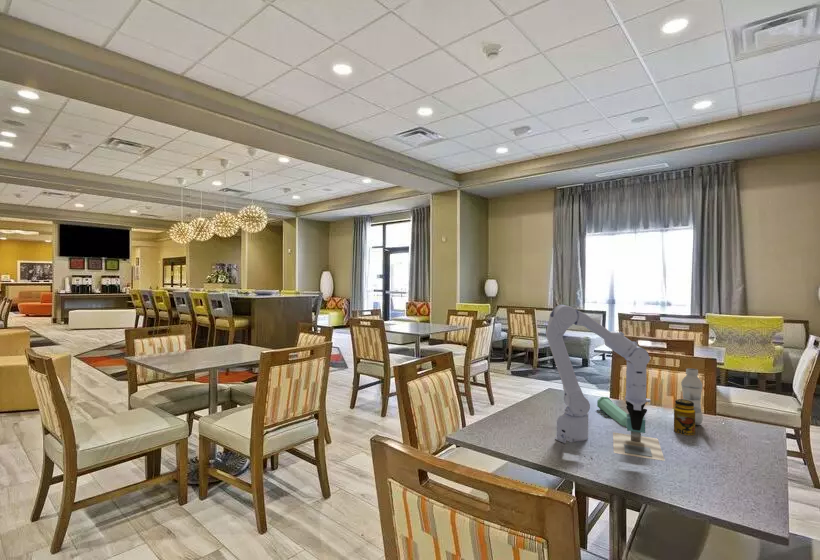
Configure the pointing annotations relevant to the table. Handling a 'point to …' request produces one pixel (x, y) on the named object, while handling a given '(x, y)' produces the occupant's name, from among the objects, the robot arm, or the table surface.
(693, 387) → the plastic bottle
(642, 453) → the post board
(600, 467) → the table surface
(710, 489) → the table surface
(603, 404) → the pale green rod
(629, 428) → the teal slotted block
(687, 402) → the condiment
